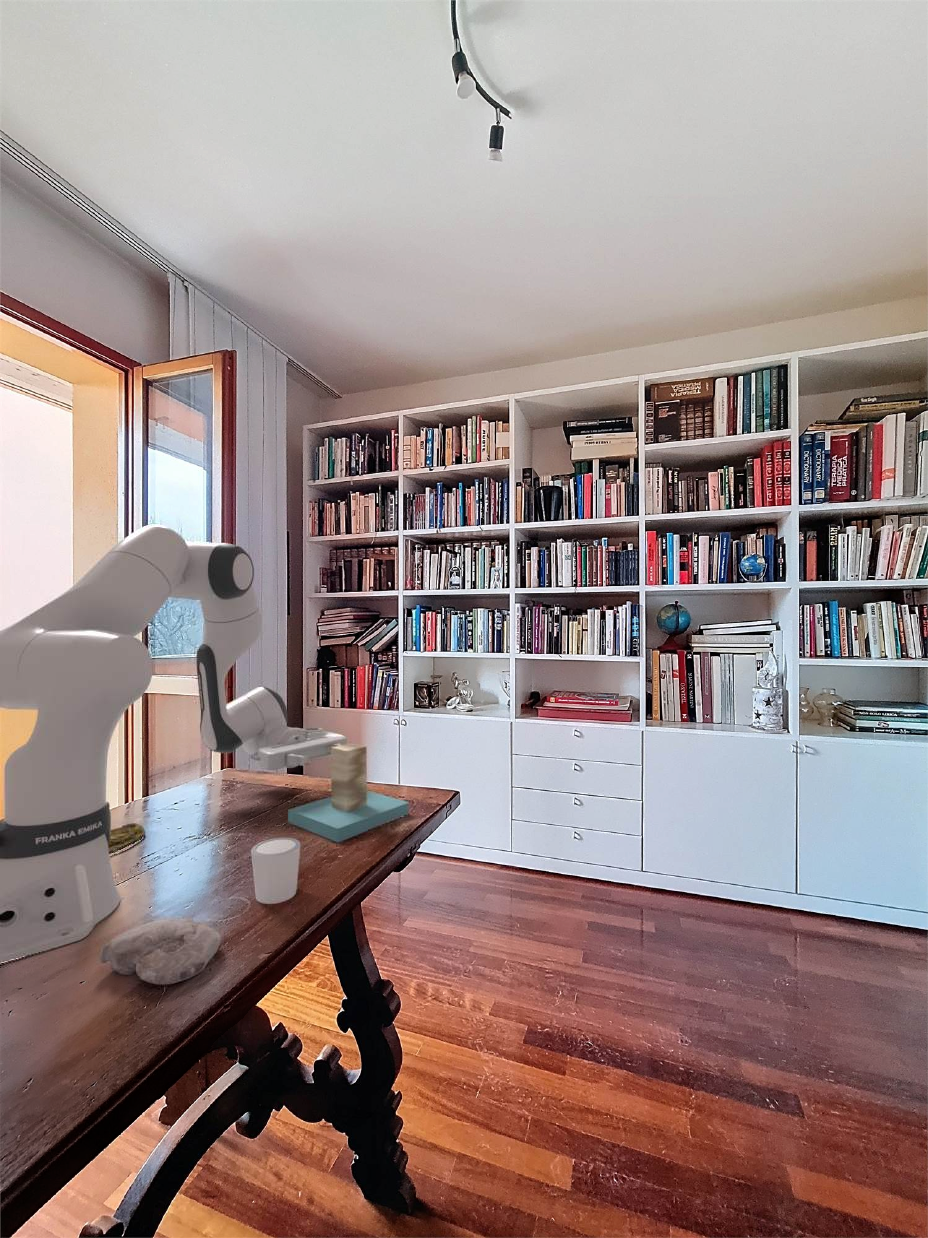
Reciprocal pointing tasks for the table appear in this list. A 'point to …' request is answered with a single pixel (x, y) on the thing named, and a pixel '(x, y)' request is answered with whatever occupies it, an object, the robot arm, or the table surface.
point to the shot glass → (275, 869)
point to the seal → (125, 836)
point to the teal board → (346, 816)
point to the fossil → (163, 950)
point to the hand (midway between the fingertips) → (325, 756)
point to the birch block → (349, 777)
